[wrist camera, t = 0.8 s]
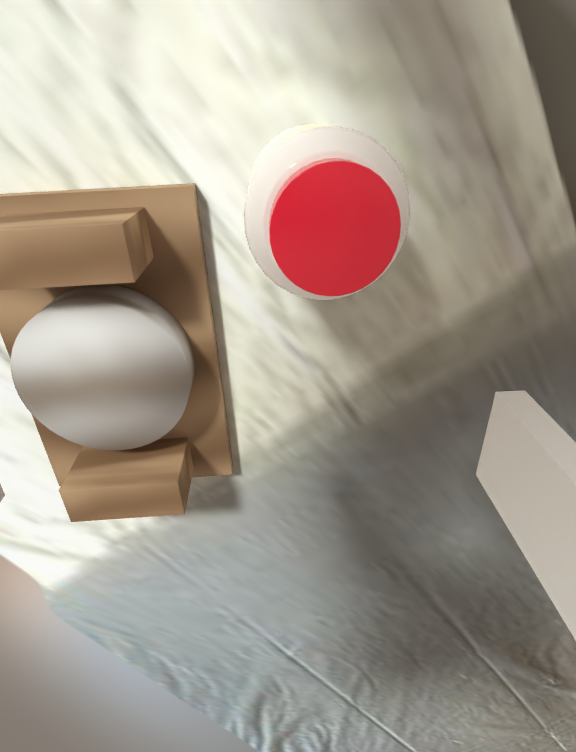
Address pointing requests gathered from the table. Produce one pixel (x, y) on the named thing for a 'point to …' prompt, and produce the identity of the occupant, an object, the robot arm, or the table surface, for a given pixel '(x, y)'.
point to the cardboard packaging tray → (114, 344)
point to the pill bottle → (325, 211)
